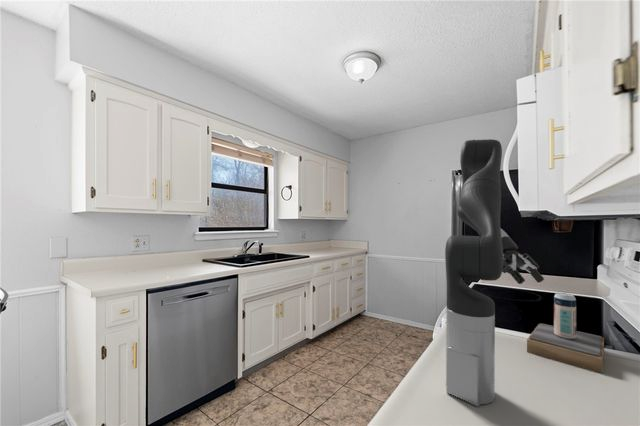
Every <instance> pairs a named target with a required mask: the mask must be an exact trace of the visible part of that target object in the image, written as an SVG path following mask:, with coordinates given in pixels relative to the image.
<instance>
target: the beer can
mask: <svg viewBox="0 0 640 426" xmlns="http://www.w3.org/2000/svg"><path fill="white" fill-rule="evenodd" d="M553 326H554V333H555V334H556V335H557V336H558V337H561V338H564V339H574V338H576V331H577V299H576V297H575V295H574V294H572V293H566V292H556V293H555V294H554V296H553Z"/></svg>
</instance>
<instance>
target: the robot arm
mask: <svg viewBox="0 0 640 426" xmlns="http://www.w3.org/2000/svg"><path fill="white" fill-rule="evenodd" d="M460 150H461V151H460V160H459V161H460V172H461V178H462V179H461V180H462V183H463V184H462V187H461V192H460V199H459V204H460V206H459V207H458V208H457V211H456V212H457V216H458V217H459V219H460V220H461V221H462V222H463V223H464V224H466V225H468V226H469V227H471V228H472V229H473V230H475V231H476V233H477V234H478V235H450V236H449V237H448V238H447V240H446V242H445V243H446V244H445V250H444V251H445V253H444V254H445V255H444V256H445V257H444V258H445V259H444V261H445V275H446V277H445V278H446V316H445V318H446V323H445V324H446V325H445V326H446V327H445V329H446V330H445V333H446V334H445V337H446V339H445V367H446V368H445V387H446V386H447V387H446V393H447V394H448V393H449V394H448V395H450V394H452V395H451V396H453V395H454V396H453V397H455V396H456V397H455V398H457V397H459V398H461V399H460V400H462V399H463V400H462V401H464V400H465V401H464V402H466V401H467V403H468V402H469V404H471V405H473V406H475V407H480V406H481V405H487V404H492V403H493V402H494V401H495V397H496V395H495V394H496V392H495V390H496V386H495V384H496V382H495V380H496V379H495V377H496V376H495V375H496V374H495V373H496V372H495V369H496V366H495V364H496V363H495V362H496V360H495V359H496V358H495V355H496V353H495V346H496V345H495V344H496V343H495V340H496V339H495V338H496V337H495V333H496V332H495V331H496V325H495V324H496V321H495V320H496V317H495V316H496V304H495V301H494V300H493V299H492V298H491V297H489V296H488V295H485V294H484V293H482V292H479V291H477V290H476V289H473V288H472V287H470V286H469V285H468V284H467V283H466V282H465V281H464V280H463V279H469V280H477V281H487V282H488V281H497V280H499V279H500V278H501V277H502V274H503V273H504V274H506V273H507V274H508V275H510V276H511V277H512V279H514V281H516V283H517V284H519V285H522V284H524V282H525V281H526V279H525V278H524V277H523V276H522V274H521V273H520V272H519V271H518V270H517V268H518V269H521V270H523V271H526V272H528V273H529V274H530V275H531V276H532V278H533V279H534V280H535V281H536V282H537V283H541V282H543V281H544V280H545V277H543V275H542V274H541V273H540V272H539V271H538V269H539V268H540V265H539V264H538V263H537V262H536V261H535V260H534V259H533V258H532V257H531V256H530V255H529V254H528V253H526V252H524V254H521V253H520V252H519V251H518V249H519V246H518V245H517V243H515V241H513V239H512V238H511V237H510V236H509V235H508V233H507V232H505V230H504V229H502V228H501V210H502V207H501V206H502V187H501V167H502V157H503V148H502V144H501V141H499V140H498V139H469V140H466V141H464V142H463V143H462V145H461V149H460ZM475 171H476V172H475ZM459 398H458V399H459Z"/></svg>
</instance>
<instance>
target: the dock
mask: <svg viewBox="0 0 640 426" xmlns="http://www.w3.org/2000/svg"><path fill="white" fill-rule="evenodd" d="M526 353H530V354H532V355H537V356H540V357H543V358H548V359H551V360H554V361H558V362H560V363H565V364H568V365H571V366H575V367H579V368H582V369H584V370H585V369H586V370H589V371H593V372H595V373H600V374H603V365H604V356H605V355H604V354H605V337H604V338H603V337H602V336H601V335H597V334H593V333H587V332H583V331H579V330H576V338H574V339H564V338H561V337H558V336H557V335H556V334H555V333H554V325H551V324H547V323H541V322H540V323H538V324H537V325H536V327H535V328H534V330H533V331H531V333H530V335H529V336H528V337H527V339H526Z"/></svg>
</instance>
